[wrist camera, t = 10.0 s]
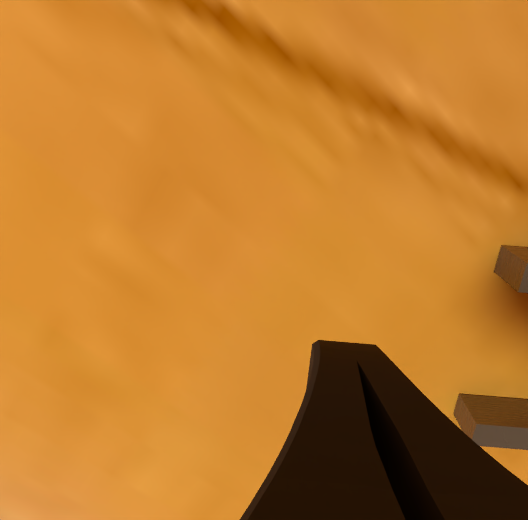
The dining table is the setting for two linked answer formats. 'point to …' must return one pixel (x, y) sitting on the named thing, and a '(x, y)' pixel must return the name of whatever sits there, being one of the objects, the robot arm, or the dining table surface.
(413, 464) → the robot arm
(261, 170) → the dining table surface
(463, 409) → the guide rails
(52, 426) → the dining table surface
